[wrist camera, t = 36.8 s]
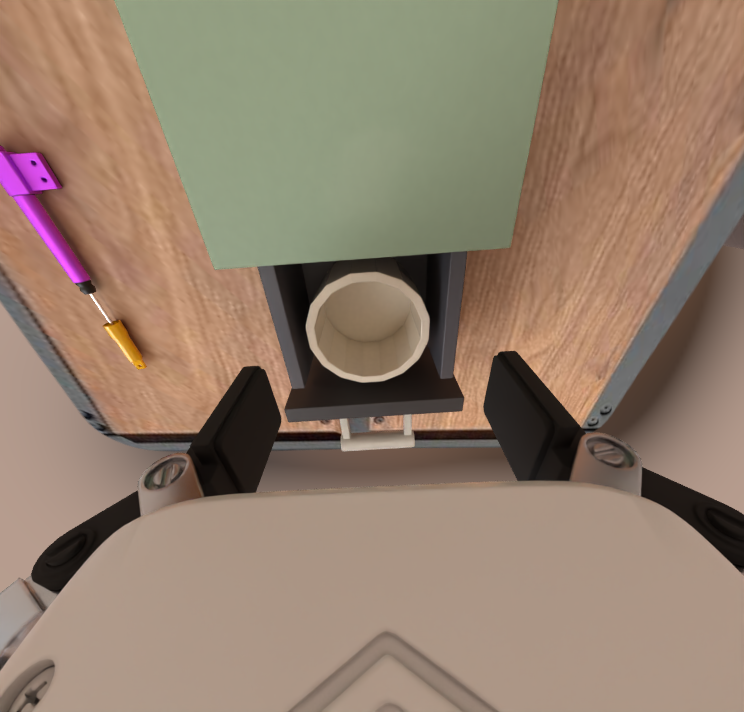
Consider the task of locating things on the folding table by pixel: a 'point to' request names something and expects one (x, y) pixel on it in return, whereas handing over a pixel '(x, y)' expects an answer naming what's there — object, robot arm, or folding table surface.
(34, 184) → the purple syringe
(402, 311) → the ramekin
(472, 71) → the mini drawer cabinet
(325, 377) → the dark grey drawer
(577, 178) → the folding table surface
